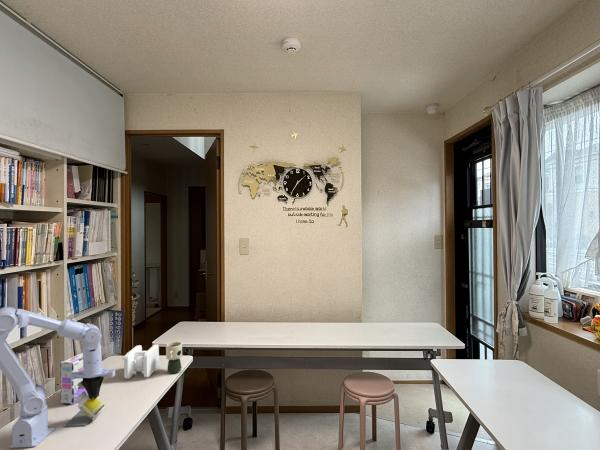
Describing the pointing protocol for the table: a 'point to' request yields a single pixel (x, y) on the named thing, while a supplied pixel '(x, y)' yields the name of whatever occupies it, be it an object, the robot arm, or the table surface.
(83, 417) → the mat
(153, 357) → the cable organizer
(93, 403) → the supplement bottle
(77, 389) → the candy box
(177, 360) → the character mug
